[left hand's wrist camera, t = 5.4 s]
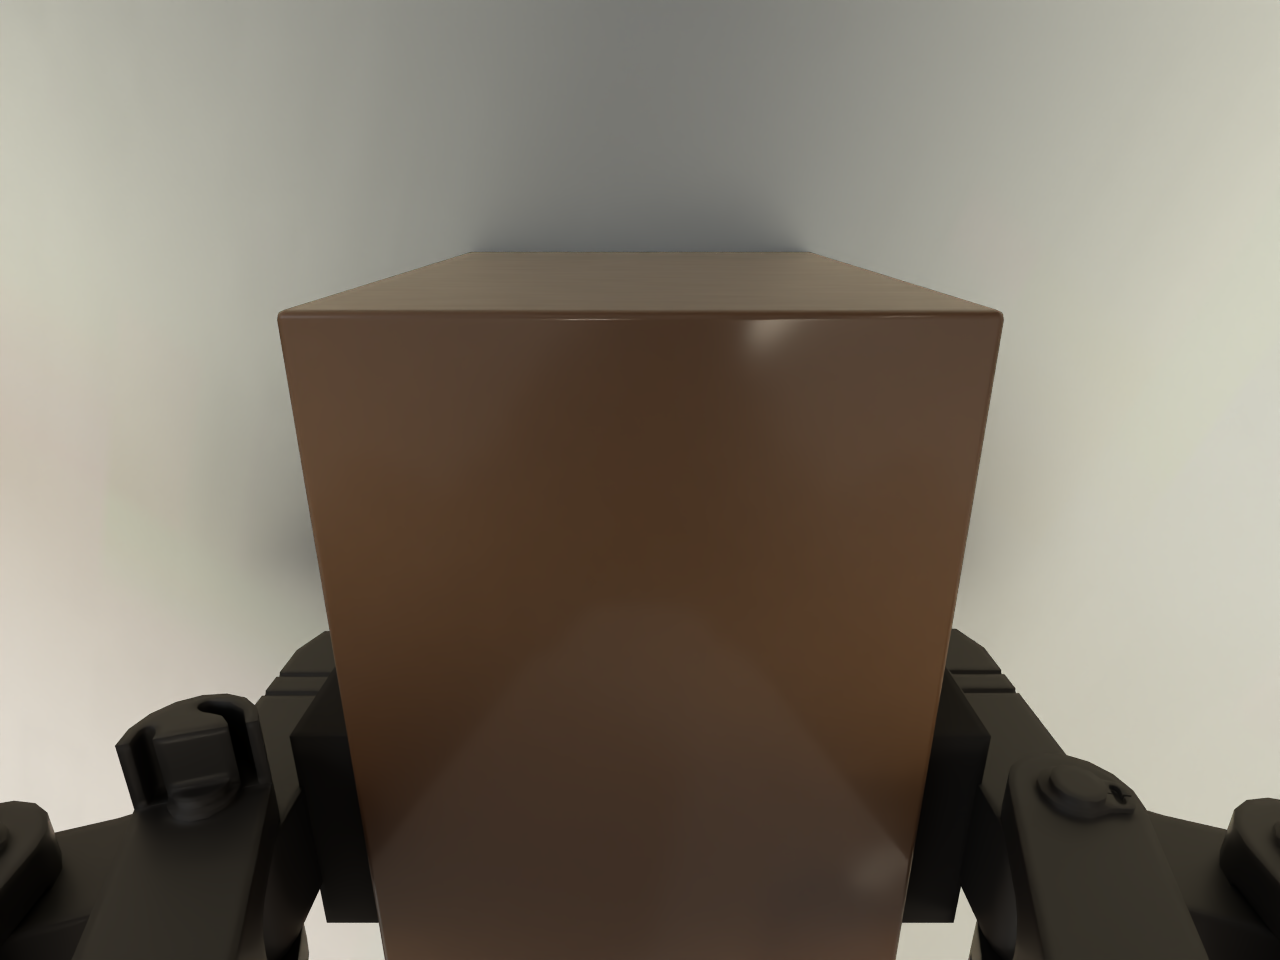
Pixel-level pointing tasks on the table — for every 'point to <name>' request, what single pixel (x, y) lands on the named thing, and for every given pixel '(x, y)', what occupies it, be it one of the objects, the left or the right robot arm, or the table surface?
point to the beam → (640, 592)
